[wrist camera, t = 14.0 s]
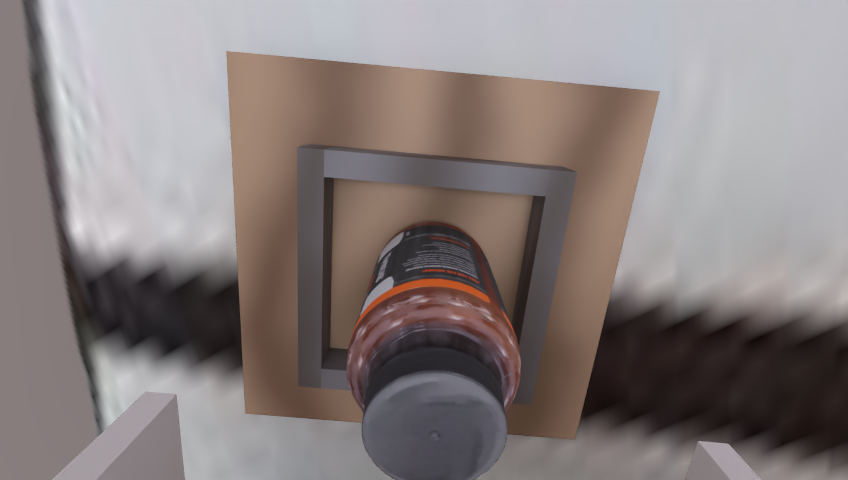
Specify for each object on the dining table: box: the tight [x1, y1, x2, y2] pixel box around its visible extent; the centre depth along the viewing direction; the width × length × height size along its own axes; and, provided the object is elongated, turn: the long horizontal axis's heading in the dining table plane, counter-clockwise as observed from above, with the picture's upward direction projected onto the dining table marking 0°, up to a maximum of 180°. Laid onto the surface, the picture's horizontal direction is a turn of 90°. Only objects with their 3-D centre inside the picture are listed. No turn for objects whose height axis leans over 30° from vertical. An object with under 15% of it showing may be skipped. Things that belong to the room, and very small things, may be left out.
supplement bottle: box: [346, 222, 521, 480], centre depth 16 cm, size 6×6×11 cm
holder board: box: [226, 51, 660, 439], centre depth 21 cm, size 20×20×3 cm
